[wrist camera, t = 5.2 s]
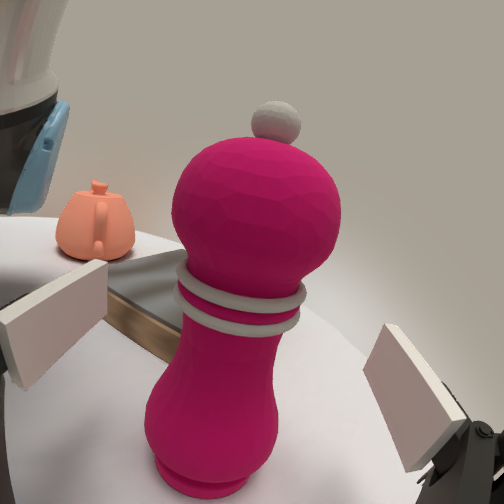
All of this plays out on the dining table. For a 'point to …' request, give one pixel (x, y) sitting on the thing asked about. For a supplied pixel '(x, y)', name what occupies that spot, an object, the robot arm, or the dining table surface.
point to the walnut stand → (147, 302)
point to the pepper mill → (237, 299)
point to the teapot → (96, 225)
